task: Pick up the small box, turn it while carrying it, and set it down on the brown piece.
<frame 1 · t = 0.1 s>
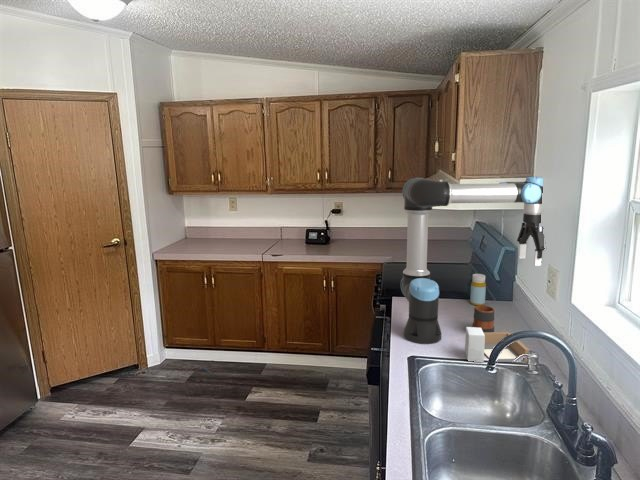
hand: (529, 261, 185), 28 cm above the worktop, fingers open, 13 cm apart
brown piece: (500, 353, 161), on the worktop
bottle: (477, 304, 216), on the worktop
mug: (482, 334, 179), on the worktop
small box: (473, 358, 157), on the worktop
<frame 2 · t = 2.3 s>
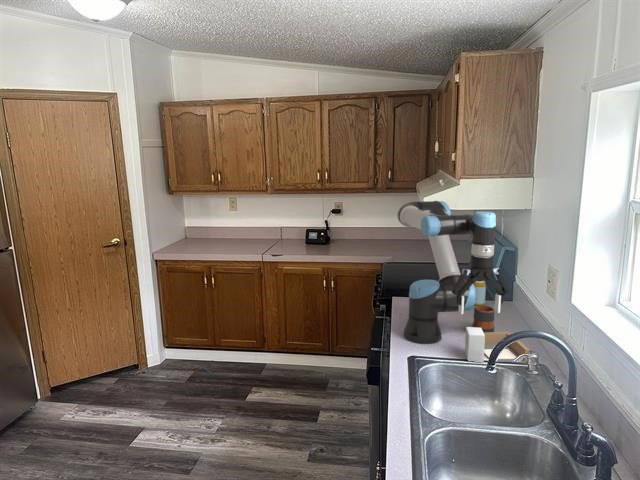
hand: (479, 312, 155), 17 cm above the worktop, fingers open, 13 cm apart
nothing on the worktop moved.
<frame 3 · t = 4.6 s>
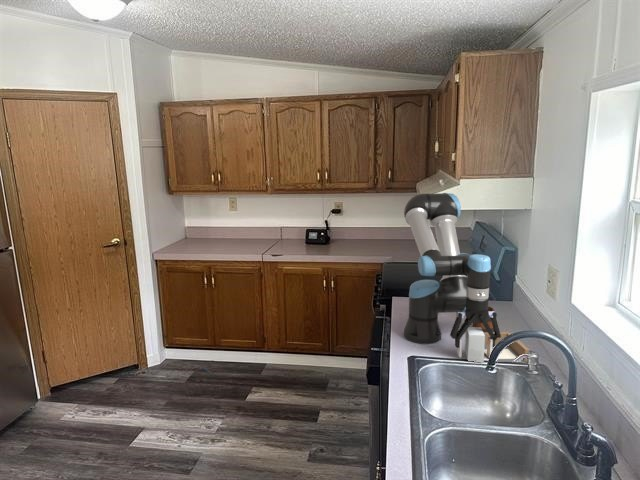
hand: (474, 355, 157), 1 cm above the worktop, fingers open, 10 cm apart
nothing on the worktop moved.
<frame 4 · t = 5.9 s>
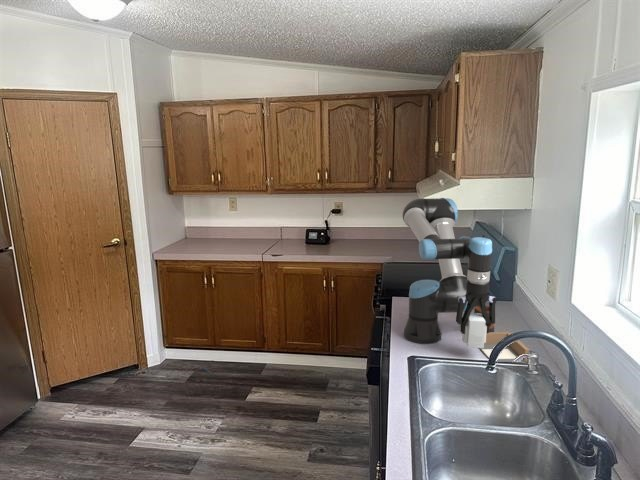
hand: (473, 341, 157), 6 cm above the worktop, fingers closed on small box, 6 cm apart
small box: (473, 344, 157), point 5 cm above the worktop, touching gripper
everything else where it was.
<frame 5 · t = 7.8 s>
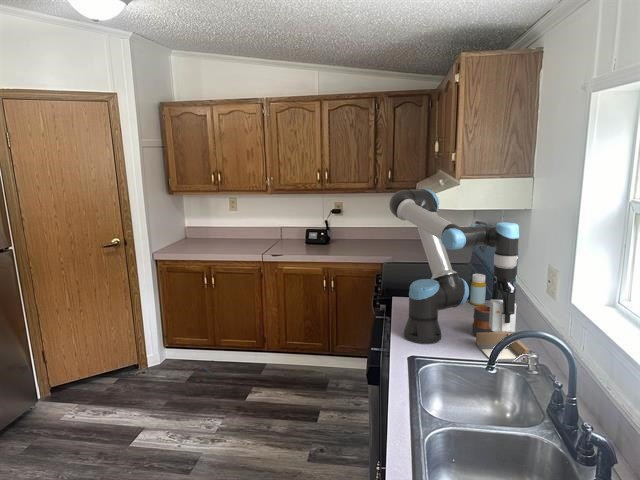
hand: (501, 326, 156), 11 cm above the worktop, fingers closed on small box, 6 cm apart
small box: (501, 329, 157), point 10 cm above the worktop, touching gripper
everything else where it was.
when the fingers open (2 cm above the worktop, at t = 10.1 s): small box stays where it is, resting on brown piece.
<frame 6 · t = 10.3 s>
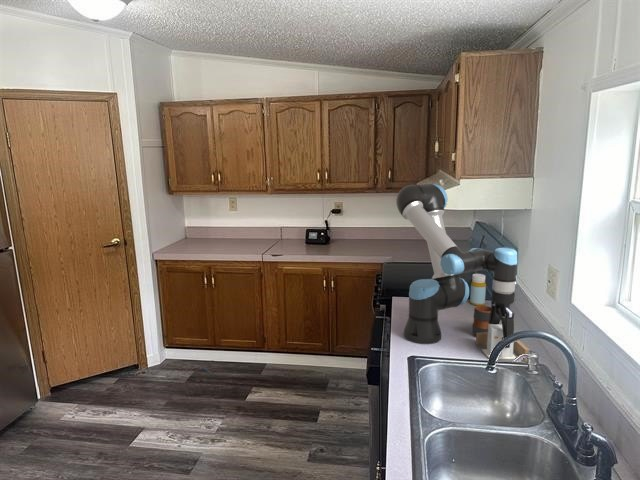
hand: (499, 349, 158), 2 cm above the worktop, fingers open, 9 cm apart
small box: (499, 354, 159), resting on brown piece
everything else where it was.
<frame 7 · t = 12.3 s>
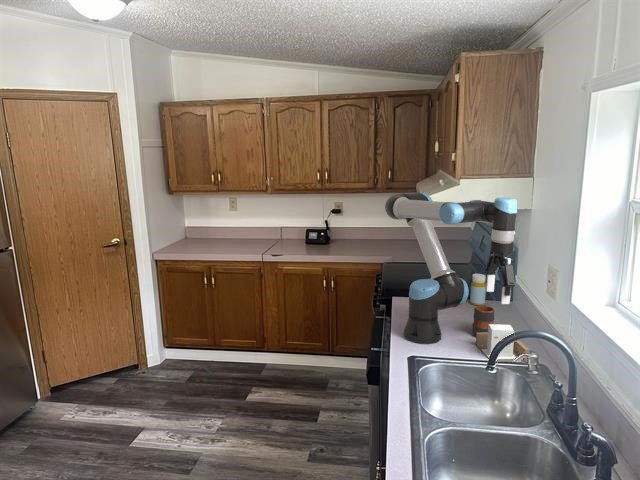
hand: (497, 297, 157), 22 cm above the worktop, fingers open, 13 cm apart
nothing on the worktop moved.
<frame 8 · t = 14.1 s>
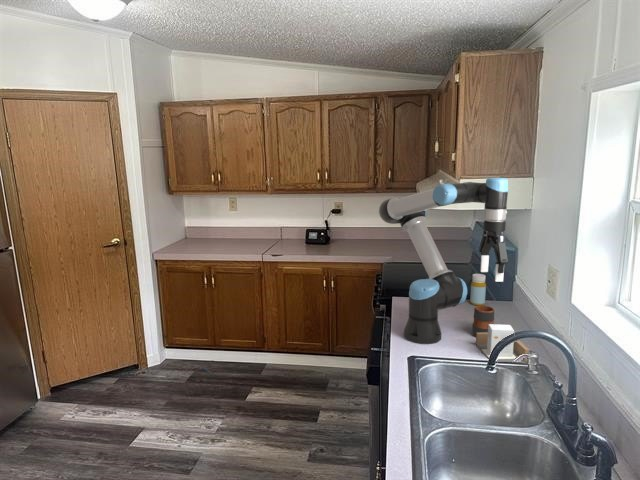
hand: (491, 276, 160), 29 cm above the worktop, fingers open, 13 cm apart
nothing on the worktop moved.
at the end: small box inside the target area on the brown piece (1.1 cm from its centre), point 0.5 cm above the brown piece's base; small box tilted 0°; the gripper is holding nothing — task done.
